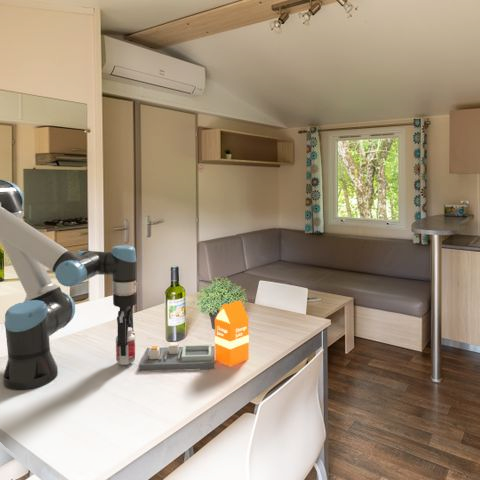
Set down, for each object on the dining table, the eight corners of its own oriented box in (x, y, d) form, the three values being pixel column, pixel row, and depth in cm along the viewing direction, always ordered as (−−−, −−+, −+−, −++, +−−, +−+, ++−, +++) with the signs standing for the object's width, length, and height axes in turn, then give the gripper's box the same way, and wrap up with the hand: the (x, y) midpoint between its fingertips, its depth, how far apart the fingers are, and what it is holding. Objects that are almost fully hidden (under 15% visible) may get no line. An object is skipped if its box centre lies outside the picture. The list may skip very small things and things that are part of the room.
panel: (140, 370, 137) (139, 360, 136) (147, 353, 151) (146, 343, 150) (214, 368, 138) (214, 358, 138) (214, 351, 152) (214, 342, 152)
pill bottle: (137, 361, 142) (137, 330, 140) (119, 365, 138) (119, 333, 137) (131, 355, 147) (131, 324, 145) (113, 359, 143) (113, 327, 142)
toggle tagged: (149, 359, 141) (149, 349, 140) (150, 355, 144) (150, 345, 143) (158, 358, 141) (158, 349, 140) (159, 355, 144) (159, 345, 143)
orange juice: (214, 359, 145) (214, 303, 142) (233, 352, 151) (233, 297, 149) (230, 366, 140) (230, 308, 137) (249, 358, 146) (249, 302, 143)
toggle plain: (169, 354, 145) (168, 345, 144) (169, 350, 148) (169, 342, 147) (177, 353, 145) (177, 345, 144) (178, 350, 148) (178, 342, 147)
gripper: (130, 301, 130) (132, 372, 133) (141, 285, 149) (142, 348, 152) (105, 301, 130) (107, 372, 133) (119, 285, 148) (121, 348, 152)
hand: (126, 359), depth 142 cm, fingers closed on pill bottle, 6 cm apart
